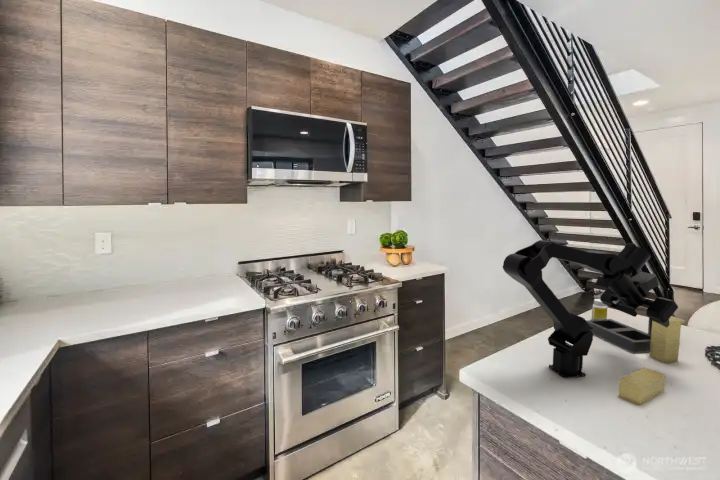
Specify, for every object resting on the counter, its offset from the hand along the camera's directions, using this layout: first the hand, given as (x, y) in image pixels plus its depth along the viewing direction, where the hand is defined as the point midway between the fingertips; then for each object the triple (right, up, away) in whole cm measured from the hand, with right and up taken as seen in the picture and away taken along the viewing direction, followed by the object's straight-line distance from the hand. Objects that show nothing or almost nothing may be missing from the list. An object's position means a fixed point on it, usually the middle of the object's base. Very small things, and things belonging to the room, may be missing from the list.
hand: (651, 320), depth 103 cm
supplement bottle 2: (+17, -10, +17) cm, 26 cm away
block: (-15, -14, -16) cm, 26 cm away
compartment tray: (+3, -10, +17) cm, 20 cm away
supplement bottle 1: (+8, -8, +35) cm, 37 cm away
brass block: (+6, -12, +2) cm, 13 cm away
